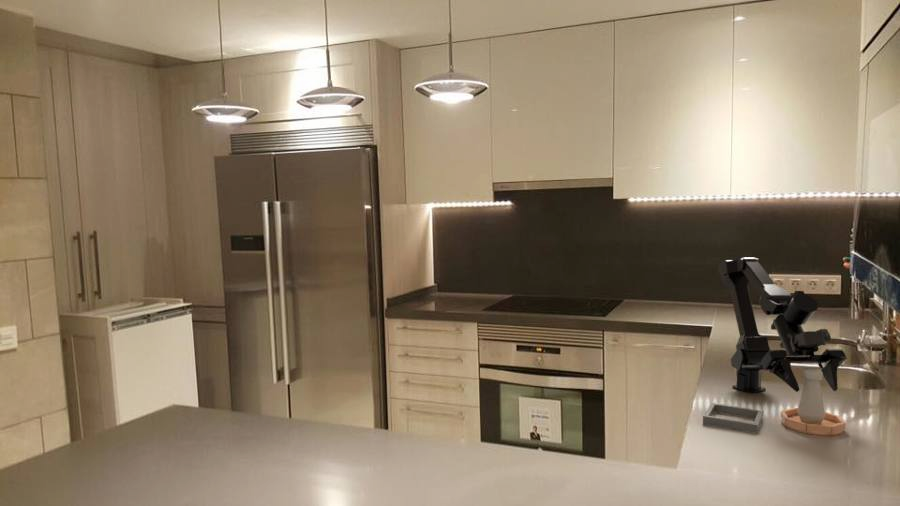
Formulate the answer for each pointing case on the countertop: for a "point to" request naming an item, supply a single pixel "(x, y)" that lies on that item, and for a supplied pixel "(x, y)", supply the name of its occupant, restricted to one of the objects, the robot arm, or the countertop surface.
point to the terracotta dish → (826, 428)
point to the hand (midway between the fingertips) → (816, 390)
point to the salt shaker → (811, 398)
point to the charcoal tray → (730, 423)
